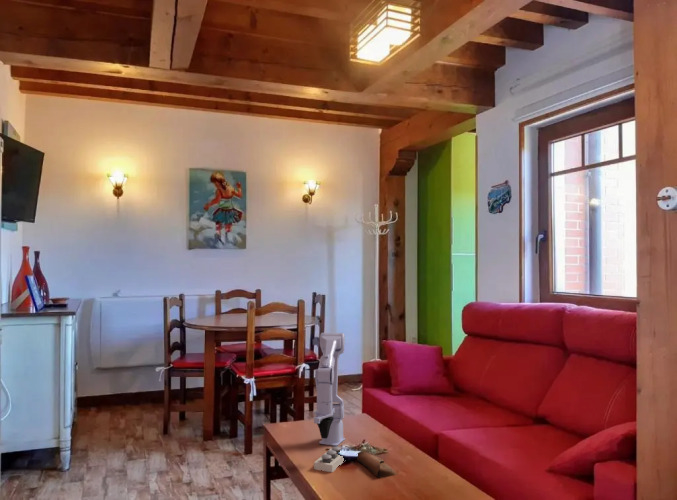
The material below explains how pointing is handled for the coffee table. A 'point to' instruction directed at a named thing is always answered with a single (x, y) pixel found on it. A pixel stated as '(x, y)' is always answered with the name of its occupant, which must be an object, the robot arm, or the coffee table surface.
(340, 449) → the knob
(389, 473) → the sunglasses case
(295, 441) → the coffee table surface
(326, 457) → the knob
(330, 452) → the knob middle
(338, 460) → the knob board
